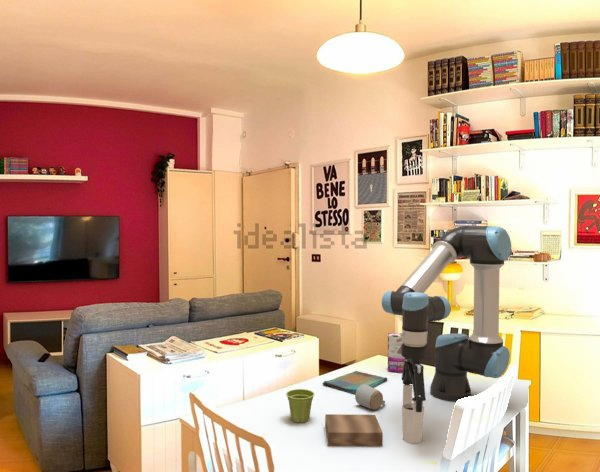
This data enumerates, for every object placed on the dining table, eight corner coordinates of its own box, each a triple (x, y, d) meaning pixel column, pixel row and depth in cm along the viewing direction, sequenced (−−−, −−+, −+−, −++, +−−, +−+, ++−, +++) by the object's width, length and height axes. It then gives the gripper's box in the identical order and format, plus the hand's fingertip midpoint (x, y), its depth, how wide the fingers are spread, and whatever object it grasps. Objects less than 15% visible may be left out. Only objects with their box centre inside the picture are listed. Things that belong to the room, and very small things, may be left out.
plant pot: (293, 427, 165) (294, 400, 165) (281, 416, 173) (281, 391, 173) (319, 421, 169) (319, 395, 169) (305, 412, 178) (306, 387, 177)
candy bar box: (412, 370, 229) (413, 333, 228) (413, 373, 224) (414, 336, 223) (387, 368, 230) (387, 332, 230) (387, 372, 226) (388, 334, 225)
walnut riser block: (374, 426, 166) (375, 414, 166) (382, 446, 152) (382, 432, 152) (325, 426, 166) (325, 414, 165) (328, 445, 152) (328, 432, 151)
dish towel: (321, 387, 206) (321, 380, 206) (354, 374, 224) (354, 368, 224) (356, 397, 195) (357, 390, 195) (388, 382, 213) (388, 376, 213)
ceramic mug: (370, 412, 178) (371, 391, 178) (354, 406, 184) (355, 385, 184) (390, 406, 184) (390, 386, 184) (374, 400, 190) (374, 380, 190)
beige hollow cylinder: (409, 445, 153) (410, 412, 152) (396, 436, 159) (397, 404, 158) (428, 441, 155) (428, 408, 155) (414, 433, 161) (415, 401, 161)
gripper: (393, 334, 168) (391, 399, 169) (411, 354, 143) (409, 429, 144) (416, 335, 168) (414, 399, 169) (438, 354, 144) (435, 430, 144)
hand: (412, 413), depth 156 cm, fingers open, 13 cm apart
